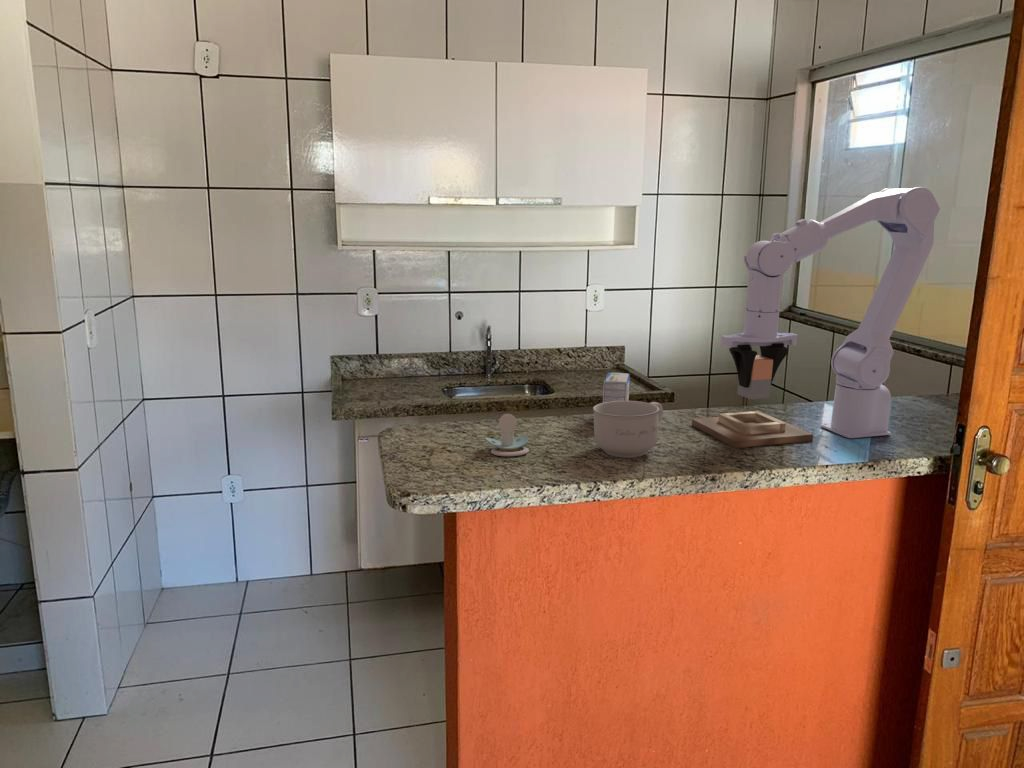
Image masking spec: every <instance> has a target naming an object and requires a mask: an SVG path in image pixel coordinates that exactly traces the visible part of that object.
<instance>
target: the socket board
mask: <svg viewBox="0 0 1024 768" xmlns="http://www.w3.org/2000/svg"><path fill="white" fill-rule="evenodd" d="M691 425H692V426H693V427H694V428H697V429H698V430H700V431H701V432H704V433H705V434H708V435H709V436H711V437H713V438H716V439H717V440H719V441H721V442H723V443H724V444H726V445H729V446H730V447H732V448H733V449H736V448H739V449H740V448H748V447H758V446H759V447H760V446H770V445H772V446H773V445H781V444H782V445H783V444H792V443H805V442H813V439H814V434H813V433H811V432H809V431H806V430H804V429H802V428H800V427H797V426H795V425H793V424H791V423H788V422H785V421H783V420H781V419H779V418H777V417H775V416H773V415H770V414H767V413H764V412H761V411H758V410H753V411H752V410H751V411H740V412H739V411H737V412H727V413H718V416H713V417H712V416H711V417H699V418H692V419H691Z"/></svg>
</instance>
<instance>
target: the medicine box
mask: <svg viewBox="0 0 1024 768" xmlns="http://www.w3.org/2000/svg"><path fill="white" fill-rule="evenodd" d="M630 375H631V374H630V373H627V372H626V373H624V372H607V375H606V376H605V380H604V381H603V387H602V389H603V390H602V403H604V402H610V401H630V400H629V397H630V383H631V382H630V381H631V380H630V379H631V378H630V377H631V376H630Z"/></svg>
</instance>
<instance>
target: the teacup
mask: <svg viewBox="0 0 1024 768" xmlns="http://www.w3.org/2000/svg"><path fill="white" fill-rule="evenodd" d="M592 412H593V433H594V440H595V443H596V445H597V446H598V447H599V448H600V449H601V450H603V451H604V453H606V454H607V455H609V456H612V457H615V458H622V459H624V458H629V459H630V458H638V457H641V456H644V455H646V454H647V453H648V452H649V451H651V449H653V448H654V447H655V445H656V444H657V440H658V435H659V424H660V423H661V421H662V418H663V417H664V409H663V406H662V404H661V403H660V402H657V401H651V402H647V401H646V402H645V401H639V400H638V401H637V400H629V401H610V402H604V403H603V402H601V403H598V404H596V405H594V406H593V407H592Z"/></svg>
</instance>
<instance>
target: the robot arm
mask: <svg viewBox="0 0 1024 768" xmlns="http://www.w3.org/2000/svg"><path fill="white" fill-rule="evenodd" d="M940 209H941V208H940V206H939V204H938V201H937V199H936V197H935V196H934V193H933V192H932V191H931V190H929V189H928V188H926V187H923V186H918V187H917V186H915V187H913V188H912V187H911V188H908V187H906V188H905V187H904V188H895V187H887V188H883V189H882V190H880V191H878V192H873V193H870V194H868V195H866V196H865V197H864V198H862V199H860V200H858V201H856V202H855V203H852V204H851V205H849V206H847V207H845V208H843V209H842V210H840V211H838V212H835V213H834V214H832V215H831V216H829V217H827V218H825V219H822V220H821V221H820V222H819V221H817V220H814V219H812V218H811V219H802V218H801V219H799V220H798V221H796V222H795V226H793V227H791V228H789V229H787V230H784V231H783V232H781V233H779V232H774V233H773V234H771V235H770V237H771V238H770V240H759V241H756V242H754V243H753V244H751V246H750V248H748V250H747V252H746V255H744V257H743V260H744V264H745V267H746V268H747V269H748V279H747V288H746V290H747V291H746V298H745V299H746V300H745V312H744V322H743V331H742V332H740V333H736V334H734V333H733V334H728V335H727V334H725V335H721V337H720V338H721V339H720V347H721V348H724V349H728V350H729V353H730V354H731V357H732V359H733V361H734V365H735V367H736V372H737V376H738V377H737V379H738V380H739V385H740V386H743V387H745V388H748V387H749V385H750V381H751V372H752V367H753V363H754V360H755V357H756V355H758V352H757V351H756V350H753V349H752V347H759V349H760V350H759V351H760V356H764V357H767V358H770V359H773V368H772V378H771V385H772V383H773V380H774V378H775V375H776V373H777V371H778V368H779V367H780V365H781V364H782V361H783V360H784V359H785V357H786V356H787V355H788V354H789V348H788V347H786V346H787V345H789V346H797V345H798V334H796V333H792V332H778V330H779V321H780V320H779V319H780V310H781V309H780V308H781V302H782V301H781V300H782V290H783V278H784V275H785V274H786V273H787V271H788V270H790V268H791V266H792V265H794V264H795V263H798V262H800V261H802V260H804V259H807V258H808V257H810V256H812V255H815V254H817V253H819V252H821V251H823V250H824V249H825V248H826V246H827V244H828V241H829V240H830V239H832V238H834V237H836V236H839V235H841V234H843V233H845V232H849V231H851V230H853V229H855V228H857V227H860V226H862V225H864V224H866V223H870V222H871V221H876V222H877V224H879V225H880V226H881V227H882V228H883V229H884V230H885V231H886V232H887V233H888V234H889V235H890V238H891V241H892V242H893V244H894V246H895V247H894V249H893V251H892V254H891V256H890V258H889V261H888V263H887V265H886V267H885V269H884V271H883V274H882V275H881V278H880V280H879V283H878V285H877V286H876V289H875V291H874V293H873V295H872V297H871V300H870V302H869V304H868V306H867V308H866V310H865V313H864V316H863V318H862V319H861V321H860V324H859V326H858V328H856V329H855V330H854V331H852V332H851V333H849V334H848V335H847V336H846V337H845V338H844V342H842V344H841V345H840V346H839V347H838V348H837V349H836V350H835V351H834V353H832V356H831V361H830V365H831V368H832V371H833V372H834V373H835V374H836V376H835V389H834V397H833V406H832V411H831V412H832V413H831V414H832V415H831V422H827V423H820V424H819V427H820V428H823V429H825V430H828V431H831V432H832V433H835V434H838V435H840V436H842V437H845V438H848V439H858V438H868V437H870V438H871V437H879V436H880V437H881V436H890V435H891V431H889V429H888V428H889V422H890V415H891V408H892V407H891V406H892V394H891V391H890V389H888V388H887V386H885V385H883V384H884V383H885V382H886V381H887V379H888V378H889V376H890V373H891V361H892V357H893V356H894V354H895V353H894V349H893V345H892V343H891V341H890V338H891V336H892V335H893V332H894V329H895V328H896V326H897V324H898V322H899V319H900V317H901V315H902V313H903V310H904V308H905V307H906V304H907V302H908V300H909V298H910V296H911V293H912V292H913V289H914V287H915V285H916V283H917V280H918V278H919V276H920V274H921V272H922V270H923V268H924V266H925V263H926V261H927V259H928V257H929V255H930V253H931V251H932V249H933V245H934V239H935V238H934V234H935V221H936V219H937V217H938V215H939V213H940Z"/></svg>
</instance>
